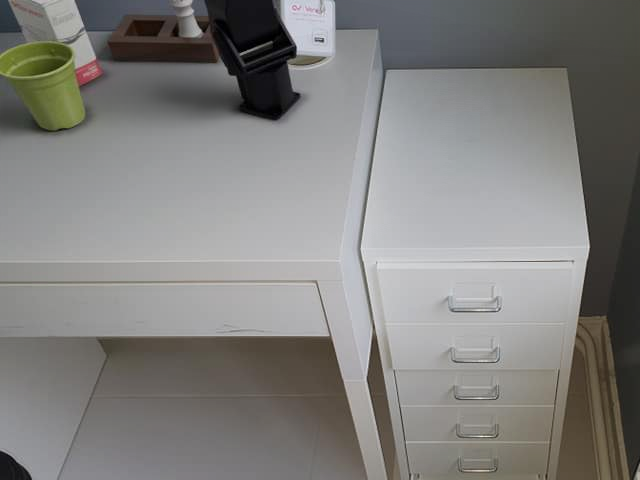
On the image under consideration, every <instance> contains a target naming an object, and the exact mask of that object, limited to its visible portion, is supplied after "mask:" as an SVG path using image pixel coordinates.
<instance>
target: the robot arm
mask: <svg viewBox="0 0 640 480" xmlns="http://www.w3.org/2000/svg"><path fill="white" fill-rule="evenodd" d="M203 1H204V4H205V7H206V8H205V9H206V12H207V16H208V18H209V22H210V33H211V35H212V38H213V40H214V42H215V45H216V47H217V50H218V52H219V55H220V57H219V58H220V60H221V62H222V63H223V65H224V67H225V68H226V70H227V75H229V76H230V77H236V81H237V86H238V90H239V93H240V97H241V99H242V100H243V101H242V102H241V103H239V105H238V106H237V108H238V110H239V111H240V112H244V113H249V114H253V115H258V116H260V117H265V118H269V119H273V120H279V119H281V118H282V117H283V116H284V115H285V114H286V113H287V112H288V111H289V110H290V109H291V108H292V107H293V106H294V105H295V104H297V102H298V101H299V100H301V98H302V97H301V93H299V92H296V91H294V89H293V85H292V79H291V75H290V69H289V64H288V61H290V60H294V59H297V56H298V55H297V53H298V47H297V44H296V42H295V40H294V39H293V37H292V36H291V33H290V32H289V30H288V28H287V27H286V25H285V23H284V21H283V20H282V18H281V16H280V14H279V13H278V11H277V9H276V7H275V4H274V1H273V0H203ZM268 43H269V44H268ZM262 45H264V46H262ZM260 46H261V47H260ZM257 47H258V48H257ZM255 48H256V49H255ZM253 49H254V50H253ZM249 50H251V51H249ZM245 52H246V53H245ZM242 53H243V54H242ZM240 54H241V55H240Z"/></svg>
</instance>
